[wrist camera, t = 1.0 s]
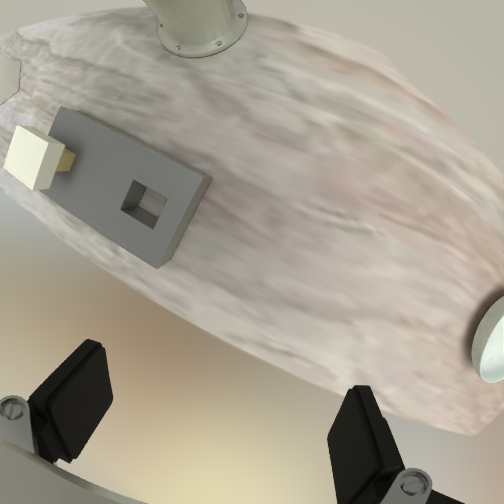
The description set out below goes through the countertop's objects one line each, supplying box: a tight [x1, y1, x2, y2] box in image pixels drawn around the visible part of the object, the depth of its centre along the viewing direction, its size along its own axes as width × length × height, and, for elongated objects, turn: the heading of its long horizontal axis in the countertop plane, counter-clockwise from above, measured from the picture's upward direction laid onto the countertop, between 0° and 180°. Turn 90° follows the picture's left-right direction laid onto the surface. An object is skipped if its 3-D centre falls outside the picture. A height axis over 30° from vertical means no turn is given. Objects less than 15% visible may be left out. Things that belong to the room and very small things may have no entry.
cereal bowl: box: [472, 296, 504, 383], centre depth 34 cm, size 17×17×7 cm
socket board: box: [39, 106, 212, 269], centre depth 34 cm, size 24×12×5 cm, turn 60°
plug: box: [4, 125, 76, 190], centre depth 27 cm, size 7×5×8 cm
